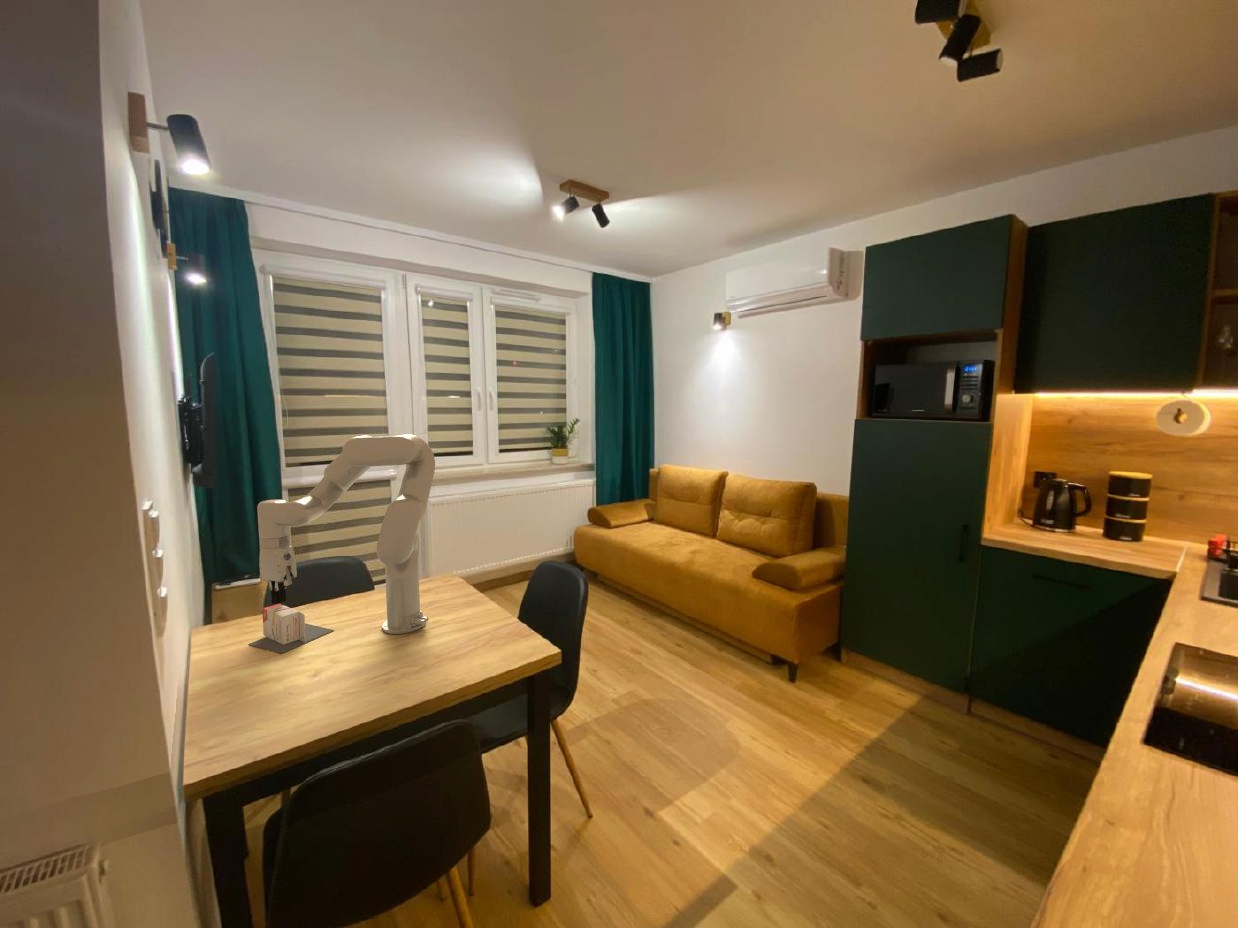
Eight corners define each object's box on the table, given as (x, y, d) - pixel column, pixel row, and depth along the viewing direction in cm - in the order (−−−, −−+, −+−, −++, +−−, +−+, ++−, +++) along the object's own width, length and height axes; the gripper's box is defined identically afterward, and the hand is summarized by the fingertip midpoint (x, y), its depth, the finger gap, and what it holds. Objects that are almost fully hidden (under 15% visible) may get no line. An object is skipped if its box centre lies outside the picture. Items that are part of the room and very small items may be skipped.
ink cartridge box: (260, 608, 146) (287, 618, 139) (279, 603, 151) (305, 612, 143) (262, 636, 147) (288, 647, 140) (280, 630, 151) (307, 641, 144)
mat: (333, 630, 152) (333, 629, 152) (281, 653, 137) (281, 652, 137) (302, 623, 157) (302, 622, 157) (248, 644, 142) (248, 643, 142)
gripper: (305, 541, 147) (308, 601, 148) (271, 536, 152) (275, 594, 154) (279, 547, 140) (283, 610, 142) (245, 542, 145) (249, 603, 147)
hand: (279, 602), depth 148 cm, fingers closed
